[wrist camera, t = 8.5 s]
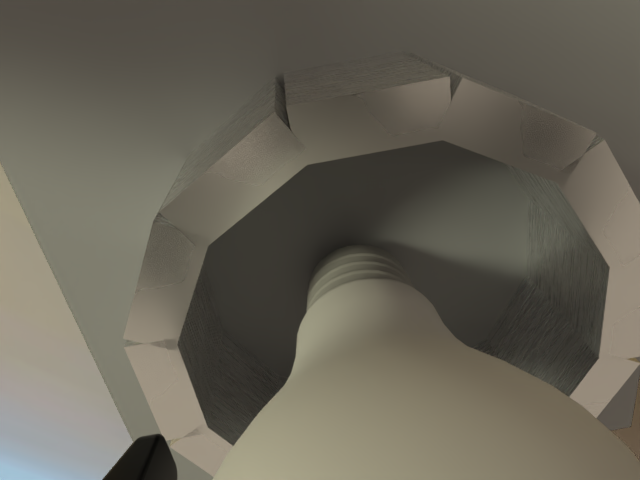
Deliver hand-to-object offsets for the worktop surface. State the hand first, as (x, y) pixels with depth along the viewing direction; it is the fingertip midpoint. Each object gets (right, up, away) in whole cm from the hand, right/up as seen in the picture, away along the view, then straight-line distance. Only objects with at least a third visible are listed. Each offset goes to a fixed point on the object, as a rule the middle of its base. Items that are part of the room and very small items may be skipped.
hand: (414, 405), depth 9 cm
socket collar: (0, +2, +4) cm, 5 cm away
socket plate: (0, +3, +6) cm, 6 cm away
